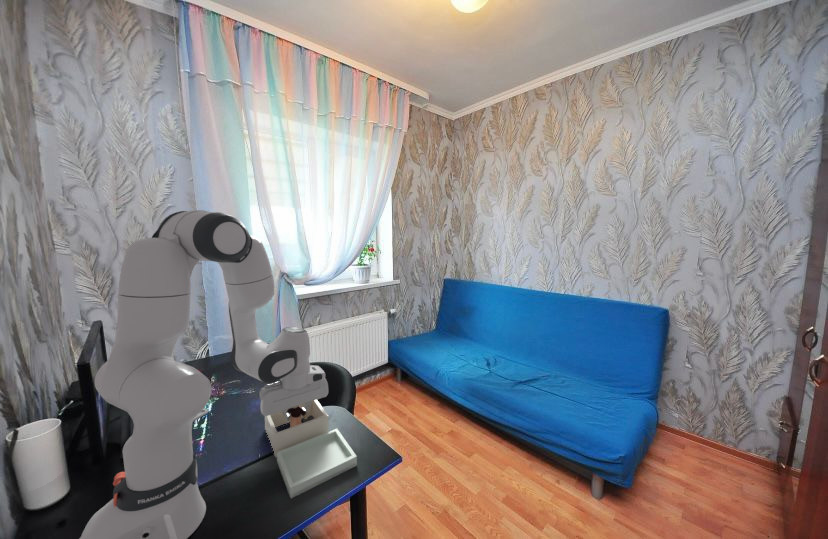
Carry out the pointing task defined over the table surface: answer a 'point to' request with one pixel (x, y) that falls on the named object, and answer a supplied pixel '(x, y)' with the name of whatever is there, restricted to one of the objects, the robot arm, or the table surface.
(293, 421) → the grandmother figurine
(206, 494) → the table surface
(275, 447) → the ceramic holder
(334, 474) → the sage tray
